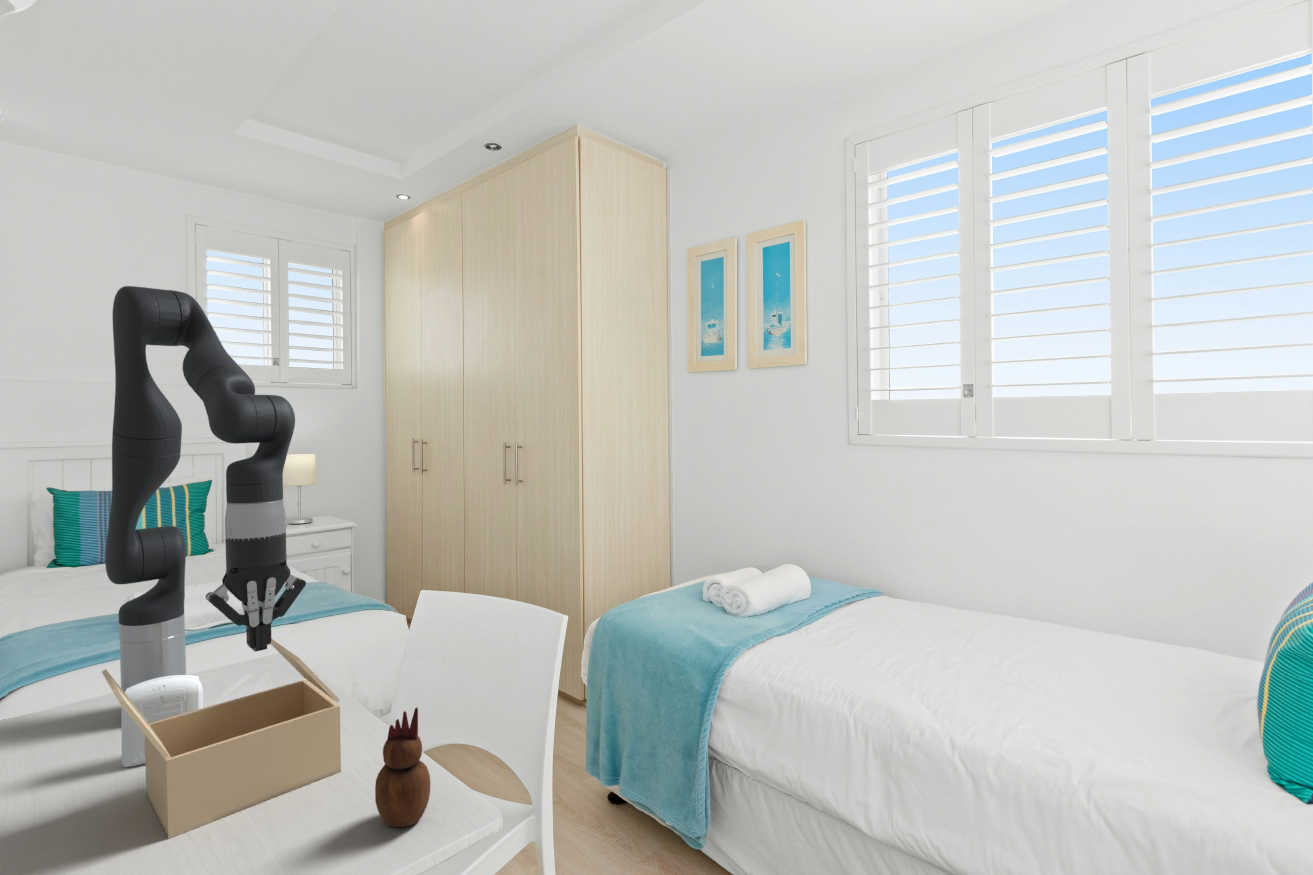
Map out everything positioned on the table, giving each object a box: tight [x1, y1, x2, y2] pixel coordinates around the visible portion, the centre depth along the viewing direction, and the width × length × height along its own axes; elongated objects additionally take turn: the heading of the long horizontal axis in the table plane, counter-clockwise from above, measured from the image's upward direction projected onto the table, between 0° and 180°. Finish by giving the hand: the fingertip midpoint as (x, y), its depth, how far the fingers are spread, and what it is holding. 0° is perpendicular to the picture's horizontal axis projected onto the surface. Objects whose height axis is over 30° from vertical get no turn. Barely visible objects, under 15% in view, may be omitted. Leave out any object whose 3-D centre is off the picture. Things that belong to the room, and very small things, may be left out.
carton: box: [144, 679, 342, 839], centre depth 94 cm, size 14×21×10 cm, turn 137°
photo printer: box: [120, 674, 204, 768], centre depth 101 cm, size 10×4×12 cm, turn 123°
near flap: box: [101, 669, 169, 759], centre depth 84 cm, size 14×10×1 cm
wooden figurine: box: [374, 707, 431, 828], centre depth 85 cm, size 7×6×15 cm
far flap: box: [269, 638, 341, 703], centre depth 99 cm, size 14×10×1 cm
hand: (259, 649), depth 95 cm, fingers closed
